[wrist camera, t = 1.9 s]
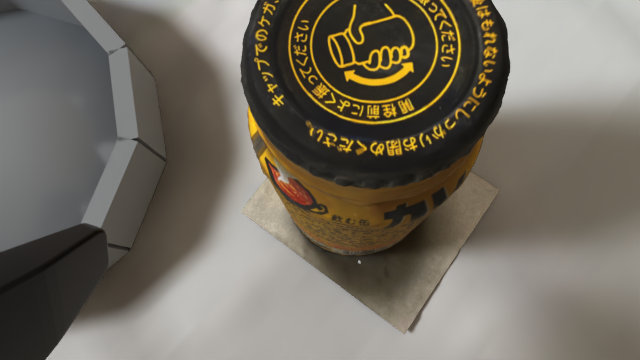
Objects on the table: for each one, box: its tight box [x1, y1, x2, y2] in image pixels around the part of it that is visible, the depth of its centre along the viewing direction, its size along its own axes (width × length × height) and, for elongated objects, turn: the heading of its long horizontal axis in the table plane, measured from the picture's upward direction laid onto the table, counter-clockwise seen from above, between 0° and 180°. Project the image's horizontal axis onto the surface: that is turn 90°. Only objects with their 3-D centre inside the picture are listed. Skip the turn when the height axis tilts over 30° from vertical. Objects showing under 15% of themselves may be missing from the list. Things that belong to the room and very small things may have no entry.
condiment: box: [240, 0, 510, 334], centre depth 14 cm, size 7×8×12 cm
